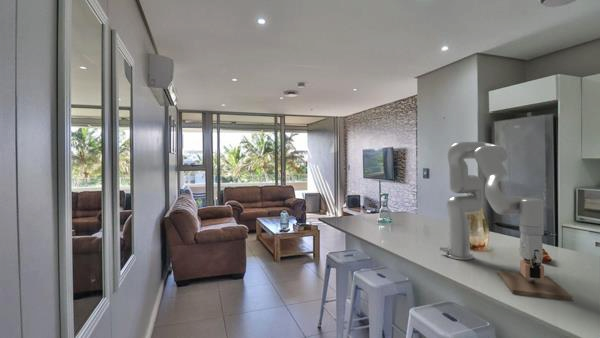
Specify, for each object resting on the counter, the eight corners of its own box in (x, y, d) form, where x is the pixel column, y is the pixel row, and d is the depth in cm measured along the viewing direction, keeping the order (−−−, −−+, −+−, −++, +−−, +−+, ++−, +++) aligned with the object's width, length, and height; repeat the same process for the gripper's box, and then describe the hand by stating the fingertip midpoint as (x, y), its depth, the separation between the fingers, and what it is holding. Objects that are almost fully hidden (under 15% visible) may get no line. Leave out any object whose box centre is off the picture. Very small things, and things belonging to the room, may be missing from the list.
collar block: (525, 277, 116) (525, 265, 116) (520, 272, 122) (519, 260, 122) (544, 279, 114) (544, 266, 114) (537, 273, 120) (537, 261, 119)
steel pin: (528, 283, 117) (528, 271, 117) (526, 280, 120) (526, 269, 119) (536, 284, 117) (536, 272, 116) (533, 281, 119) (533, 270, 119)
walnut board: (512, 293, 112) (512, 289, 112) (497, 274, 131) (497, 271, 131) (572, 300, 106) (572, 296, 106) (548, 279, 124) (548, 275, 124)
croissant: (514, 258, 161) (507, 245, 162) (531, 249, 161) (524, 236, 161) (545, 271, 140) (536, 257, 140) (564, 261, 140) (556, 246, 140)
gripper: (513, 224, 127) (513, 266, 127) (528, 234, 111) (528, 281, 111) (534, 225, 124) (534, 268, 125) (552, 235, 108) (553, 284, 108)
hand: (531, 274), depth 118 cm, fingers closed on collar block, 6 cm apart
